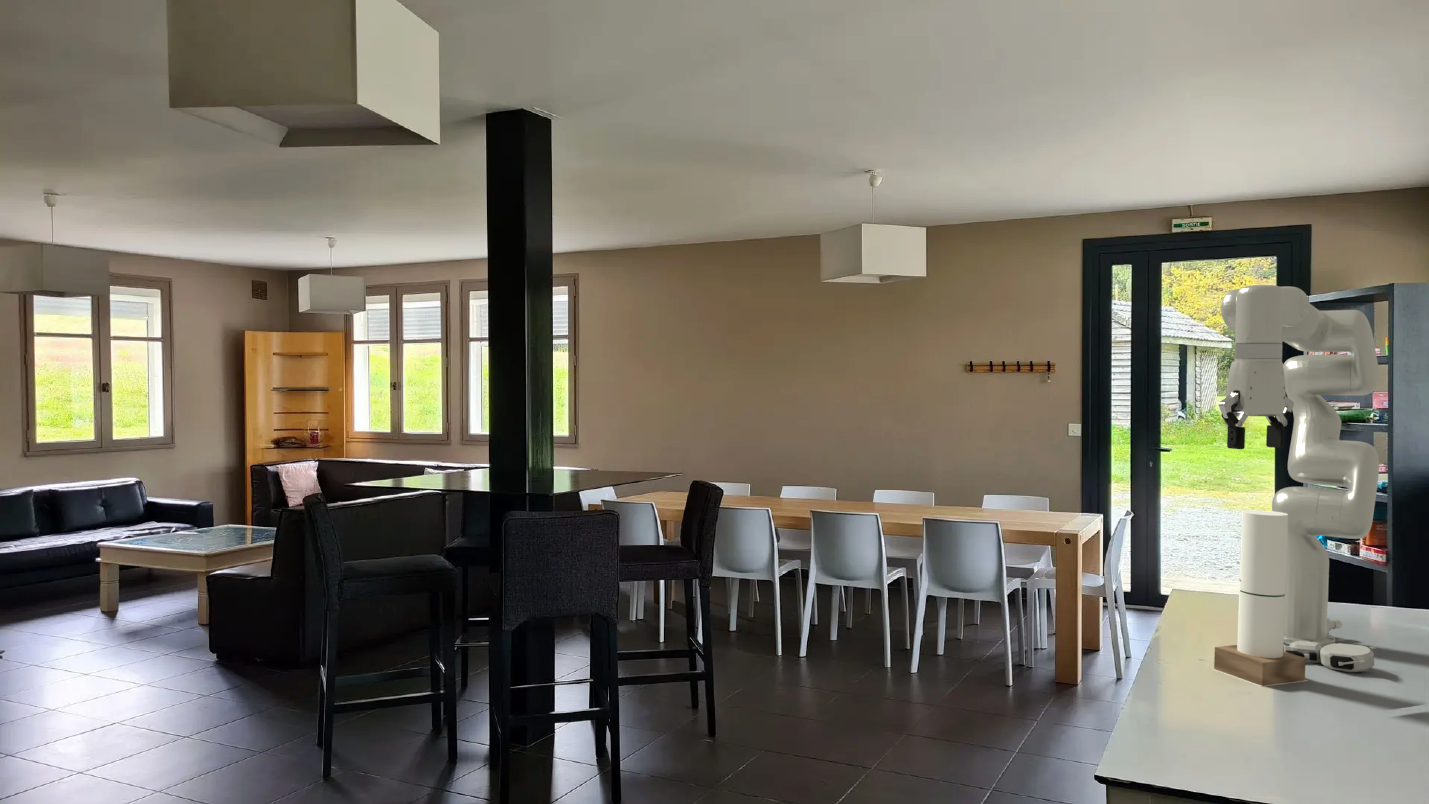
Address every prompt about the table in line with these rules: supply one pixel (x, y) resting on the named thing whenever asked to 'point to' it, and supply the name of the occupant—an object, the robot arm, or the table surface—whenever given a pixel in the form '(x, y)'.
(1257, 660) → the plinth
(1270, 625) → the cylindrical container
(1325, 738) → the table surface
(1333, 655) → the robot toy
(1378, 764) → the table surface
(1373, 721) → the table surface
